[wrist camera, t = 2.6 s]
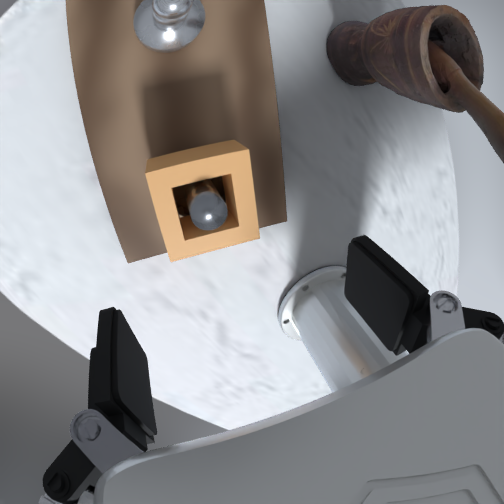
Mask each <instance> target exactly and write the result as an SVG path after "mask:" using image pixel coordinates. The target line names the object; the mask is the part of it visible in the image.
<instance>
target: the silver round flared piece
mask: <svg viewBox="0 0 504 504" xmlns="http://www.w3.org/2000/svg"><path fill="white" fill-rule="evenodd" d="M204 22H205V10H204V7H203V5H202V3H201V1H200V0H144V1H143V2H142V3H141V4H140V5H139V7H138V8H137V10H136V12H135V15H134V20H133V25H134V30H135V33H136V35H137V38H138V40H139V41H140V42H141V44H142V45H144V46H145V47H146V48H148V49H150V50H152V51H155V52H161V53H169V52H174V51H178V50H180V49H182V48H184V47H186V46H188V45H189V44H190V43H191V42H192V41H193V40H194V39H195V38H196V37H197V35H198V34H199V33H200V31H201V29H202V28H203V25H204Z"/></svg>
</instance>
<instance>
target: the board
mask: <svg viewBox="0 0 504 504" xmlns="http://www.w3.org/2000/svg"><path fill="white" fill-rule="evenodd" d="M143 1H144V0H66V13H67V25H68V35H69V44H70V52H71V59H72V66H73V72H74V78H75V84H76V89H77V94H78V99H79V104H80V109H81V114H82V118H83V123H84V127H85V131H86V135H87V139H88V143H89V147H90V151H91V155H92V158H93V162H94V165H95V169H96V172H97V176H98V179H99V182H100V186H101V189H102V192H103V195H104V198H105V201H106V204H107V208H108V210H109V213H110V216H111V219H112V222H113V225H114V228H115V231H116V233H117V236H118V239H119V241H120V244H121V247H122V249H123V252H124V254H125V257H126V260H127V262H128V263H131V262H135V261H138V260H142V259H145V258H149V257H153V256H156V255H160V254H163V253H167V249H166V246H165V242H164V239H163V236H162V232H161V229H160V226H159V222H158V219H157V215H156V212H155V208H154V205H153V201H152V197H151V194H150V190H149V186H148V182H147V179H146V175H145V171H146V163H147V159H151V158H155V157H159V156H162V155H166V154H170V153H174V152H178V151H182V150H187V149H191V148H195V147H200V146H204V145H209V144H214V143H219V142H224V141H229V140H236V141H237V142H239V143H240V144H242V145H243V146H245V147H246V148H248V149H249V153H250V161H251V169H252V177H253V185H254V193H255V201H256V209H257V218H258V226H259V228H262V227H266V226H270V225H274V224H278V223H282V222H286V221H287V212H286V198H285V185H284V172H283V160H282V149H281V138H280V127H279V117H278V108H277V98H276V89H275V80H274V71H273V63H272V55H271V47H270V39H269V32H268V24H267V17H266V10H265V3H264V0H200V1H201V3H202V5H203V7H204V10H205V22H204V25H203V28H202V29H201V31H200V33H199V34H198V35H197V37H196V38H195V39H194V40H193V41H192V42H191V43H190V44H189V45H188V46H186V47H184V48H182V49H180V50H178V51H174V52H169V53H161V52H155V51H152V50H150V49H148V48H146V47H145V46H144V45H142V44H141V42H140V41H139V40H138V38H137V35H136V33H135V30H134V25H133V20H134V15H135V12H136V10H137V8H138V7H139V5H140V4H141V3H142V2H143ZM225 204H226V203H225ZM226 206H227V204H226ZM179 217H180V218H181V217H183V216H181V215H180V214H179Z"/></svg>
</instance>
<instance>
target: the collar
mask: <svg viewBox="0 0 504 504" xmlns="http://www.w3.org/2000/svg"><path fill="white" fill-rule="evenodd" d="M145 175H146V179H147V182H148V186H149V190H150V194H151V197H152V201H153V205H154V208H155V212H156V215H157V219H158V222H159V226H160V229H161V232H162V236H163V239H164V242H165V246H166V249H167V252H168V255H169V258H170V262H173V261H177V260H181V259H184V258H188V257H192V256H196V255H199V254H203V253H207V252H210V251H214V250H218V249H222V248H225V247H229V246H233V245H237V244H240V243H244V242H248V241H252V240H256V239H259V238H260V234H259V226H258V218H257V209H256V201H255V193H254V185H253V177H252V169H251V161H250V153H249V149H248V148H246V147H245V146H243V145H242V144H240V143H239V142H237V141H236V140H229V141H224V142H219V143H214V144H209V145H204V146H200V147H195V148H191V149H187V150H182V151H178V152H174V153H170V154H166V155H162V156H159V157H155V158H151V159H147V163H146V171H145ZM218 176H222V180H223V186H224V192H225V198H226V204H227V210H228V214H227V218H226V220H225V222H224V223H223V224H222V225H221V226H220V227H218V228H216V229H214V230H208V231H207V230H202V229H199V228H198V227H196V226H195V225H194V223H193V222H192V219H191V216H190V215H188V216H185V217H181V218H180V217H179V213H178V209H177V205H176V201H175V197H174V193H173V187H177V186H181V185H185V184H189V183H193V182H197V181H201V180H205V179H209V178H214V177H218Z"/></svg>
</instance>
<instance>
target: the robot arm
mask: <svg viewBox="0 0 504 504" xmlns="http://www.w3.org/2000/svg"><path fill="white" fill-rule="evenodd" d="M428 292H429V290H428V289H427V288H425V287H424V286H423V285H422V284H421V283H420V282H419V281H418V280H417V279H416V278H415V277H414V276H412V275H411V274H410V273H409V272H408V271H407V270H406V269H405V268H404V267H402V266H401V265H400V264H399V263H398V262H397V261H396V260H394V259H393V258H392V257H391V256H390V255H389V254H388V253H386V252H385V251H384V250H383V249H382V248H381V247H379V246H378V245H377V244H376V243H375V242H373V241H372V240H371V239H370V238H369V237H367V236H366V235H363V236H359V237H356V238H353V239H352V240H351V243H349V246H348V257H347V268H346V267H342V266H329V267H324V268H321V269H318V270H316V271H314V272H312V273H310V274H308V275H307V276H305V277H304V278H302V279H301V280H300V281H299V282H297V283H296V284H295V285H294V286H293V287H292V288H291V289H290V291H289V292H288V293H287V295H286V296H285V298H284V299H283V301H282V303H281V306H280V309H279V314H278V320H279V324H280V326H281V328H282V330H283V332H284V333H285V334H286V335H287V336H288V337H290V338H292V339H295V340H299V341H303V343H304V345H305V347H306V348H307V350H308V352H309V353H310V355H311V357H312V358H313V360H314V362H315V364H316V365H317V367H318V369H319V370H320V372H321V374H322V376H323V377H324V379H325V381H326V382H327V384H328V386H329V387H330V389H331V391H332V393H331V394H329V395H326V396H324V397H322V398H319V399H317V400H314V401H312V402H310V403H307V404H305V405H302V406H300V407H297V408H294V409H292V410H289V411H286V412H284V413H281V414H278V415H275V416H273V417H270V418H267V419H264V420H261V421H258V422H255V423H252V424H249V425H246V426H242V427H239V428H236V429H232V430H229V431H225V432H222V433H219V434H215V435H211V436H207V437H203V438H200V439H196V440H192V441H188V442H183V443H179V444H175V445H171V446H167V447H163V448H159V449H155V450H150V451H148V452H146V451H147V444H149V443H154V437H153V435H156V434H157V428H156V423H155V416H154V409H153V403H152V395H151V387H150V379H149V370H148V361H147V357H146V354H145V352H144V351H143V349H142V347H141V346H140V344H139V342H138V340H137V339H136V337H135V335H134V333H133V332H132V330H131V328H130V326H129V324H128V323H127V321H126V319H125V317H124V315H123V313H122V312H121V310H116V309H115V308H114V307H111V308H108V309H104V310H101V311H100V312H99V321H98V331H97V343H96V347H95V348H92V349H91V353H90V369H89V390H88V391H89V392H88V393H89V394H88V409H86V410H82V411H80V412H79V413H77V414H76V415H75V416H74V418H73V419H72V422H71V424H70V435H71V437H72V440H71V441H70V443H69V444H68V445H67V446H66V447H65V449H64V450H63V451H62V452H61V454H60V455H59V456H58V457H57V458H56V459H55V461H54V462H53V463H52V464H51V466H50V467H49V468H48V469H47V470H46V472H45V474H44V477H43V487H44V490H45V492H46V493H45V496H44V497H43V496H41V497H40V500H39V503H38V504H504V323H503V321H502V320H501V318H500V317H499V316H497V315H496V314H494V313H491V312H486V311H481V310H475V309H471V308H465V307H462V306H461V302H460V300H459V299H458V298H457V297H456V296H455V295H454V294H452V293H450V292H447V291H437V292H434V293H433V294H432V295H431V296H430V295H429V294H428ZM406 350H407V351H408V352H409V354H408V352H407V351H406Z"/></svg>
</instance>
